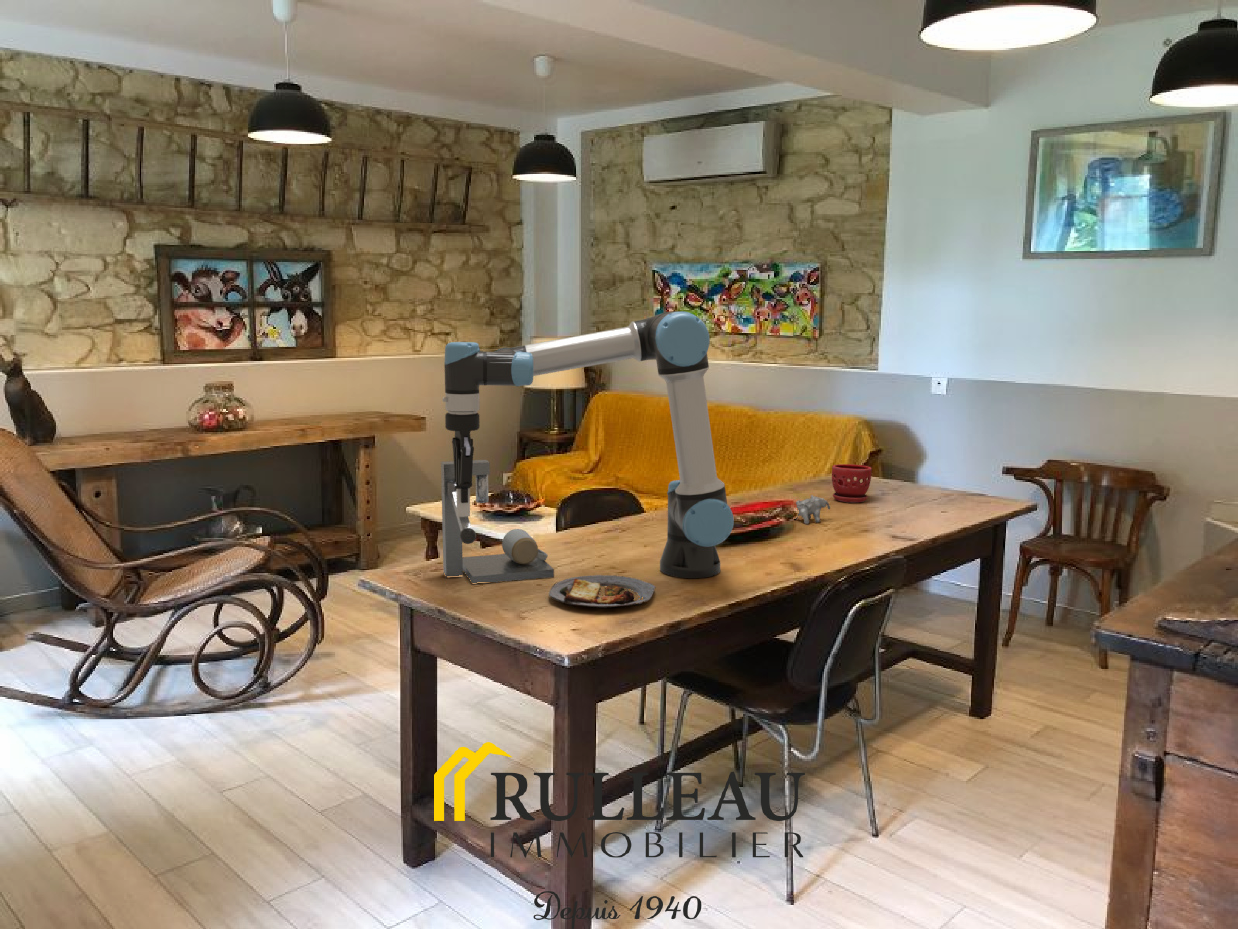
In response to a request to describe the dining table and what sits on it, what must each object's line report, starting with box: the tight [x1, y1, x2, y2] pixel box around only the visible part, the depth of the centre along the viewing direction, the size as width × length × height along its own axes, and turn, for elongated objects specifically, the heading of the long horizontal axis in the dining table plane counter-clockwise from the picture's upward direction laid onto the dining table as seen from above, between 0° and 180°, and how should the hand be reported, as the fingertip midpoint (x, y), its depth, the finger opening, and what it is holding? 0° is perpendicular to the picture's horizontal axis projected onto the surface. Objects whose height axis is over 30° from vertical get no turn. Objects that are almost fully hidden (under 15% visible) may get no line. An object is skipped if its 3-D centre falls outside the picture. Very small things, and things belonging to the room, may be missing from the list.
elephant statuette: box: [795, 494, 831, 525], centre depth 299 cm, size 9×12×8 cm
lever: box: [447, 482, 477, 545], centre depth 222 cm, size 21×4×4 cm, turn 21°
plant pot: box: [831, 463, 873, 504], centre depth 330 cm, size 13×13×12 cm
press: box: [440, 459, 555, 584], centre depth 238 cm, size 18×25×28 cm
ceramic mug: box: [501, 528, 549, 564], centre depth 242 cm, size 11×8×8 cm
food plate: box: [548, 574, 657, 609], centre depth 220 cm, size 25×23×4 cm
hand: (463, 515), depth 219 cm, fingers closed
